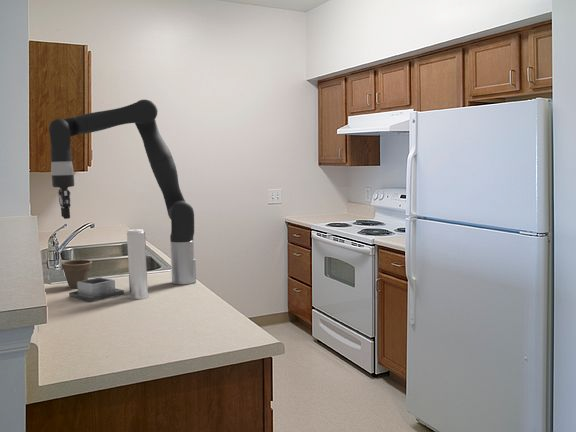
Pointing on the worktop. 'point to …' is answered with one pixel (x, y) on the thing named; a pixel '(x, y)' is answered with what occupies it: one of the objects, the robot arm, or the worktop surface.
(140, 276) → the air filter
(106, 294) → the duct collar
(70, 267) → the flower pot
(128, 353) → the worktop surface
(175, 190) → the robot arm
